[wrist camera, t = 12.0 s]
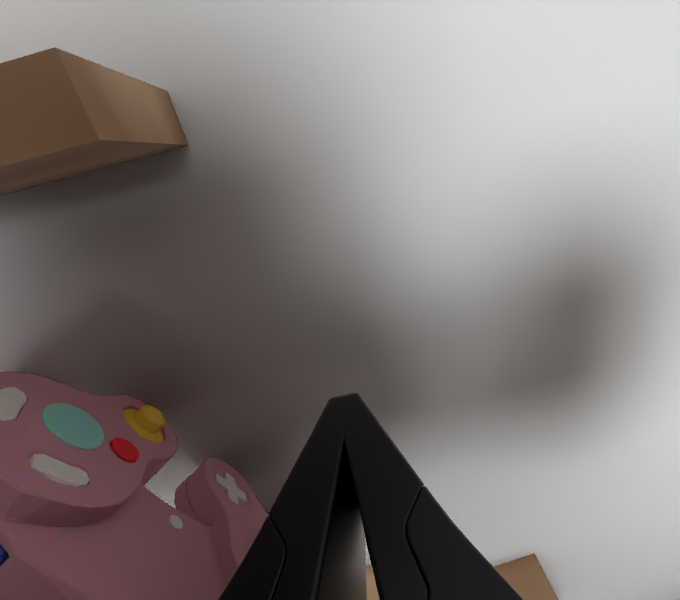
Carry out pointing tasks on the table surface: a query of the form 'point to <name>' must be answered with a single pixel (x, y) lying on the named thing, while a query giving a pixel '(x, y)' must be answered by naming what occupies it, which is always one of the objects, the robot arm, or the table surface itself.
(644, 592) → the table surface
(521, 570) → the walnut cube
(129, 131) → the frame
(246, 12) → the table surface
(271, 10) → the table surface
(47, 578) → the video game controller
